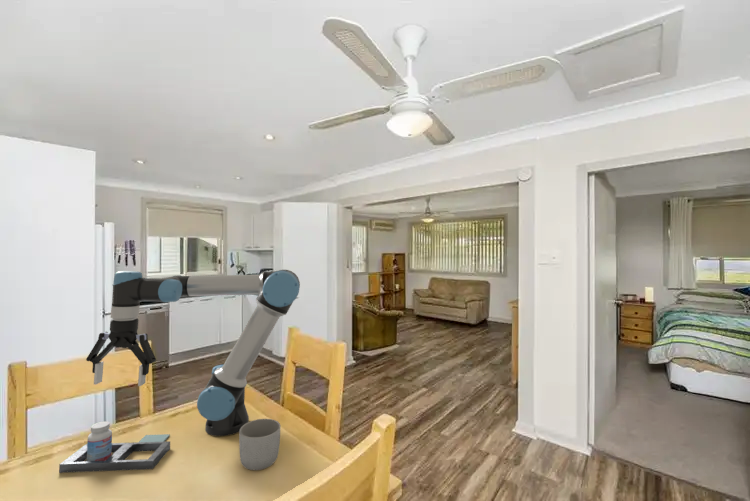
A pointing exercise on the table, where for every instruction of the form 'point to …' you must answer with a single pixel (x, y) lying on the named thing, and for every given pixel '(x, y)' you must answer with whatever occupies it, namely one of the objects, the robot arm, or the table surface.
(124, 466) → the rack frame
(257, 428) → the planter
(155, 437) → the coaster
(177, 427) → the table surface
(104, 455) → the pill bottle
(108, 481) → the table surface
